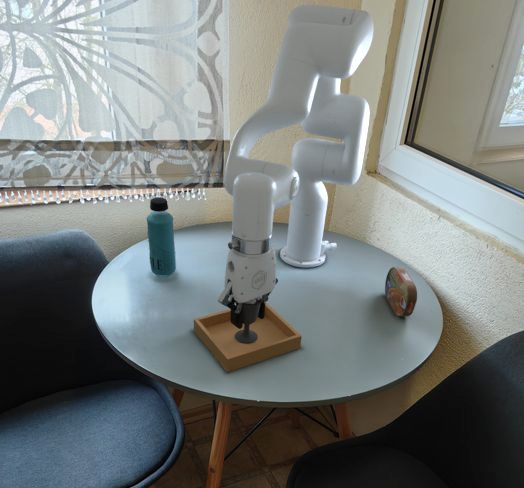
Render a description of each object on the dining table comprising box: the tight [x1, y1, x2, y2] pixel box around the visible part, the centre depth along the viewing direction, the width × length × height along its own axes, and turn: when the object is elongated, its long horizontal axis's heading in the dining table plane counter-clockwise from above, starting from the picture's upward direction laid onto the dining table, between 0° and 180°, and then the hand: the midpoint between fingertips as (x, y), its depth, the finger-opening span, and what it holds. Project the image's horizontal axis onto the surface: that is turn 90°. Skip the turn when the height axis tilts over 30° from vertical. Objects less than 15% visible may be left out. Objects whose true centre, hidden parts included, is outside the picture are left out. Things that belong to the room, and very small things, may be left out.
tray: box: [193, 302, 303, 373], centre depth 110 cm, size 18×16×3 cm
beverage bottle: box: [146, 196, 177, 277], centre depth 125 cm, size 6×7×20 cm
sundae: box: [233, 296, 265, 343], centre depth 106 cm, size 7×7×15 cm
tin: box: [384, 266, 418, 317], centre depth 123 cm, size 15×3×8 cm, turn 5°
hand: (247, 320), depth 108 cm, fingers open, 5 cm apart
